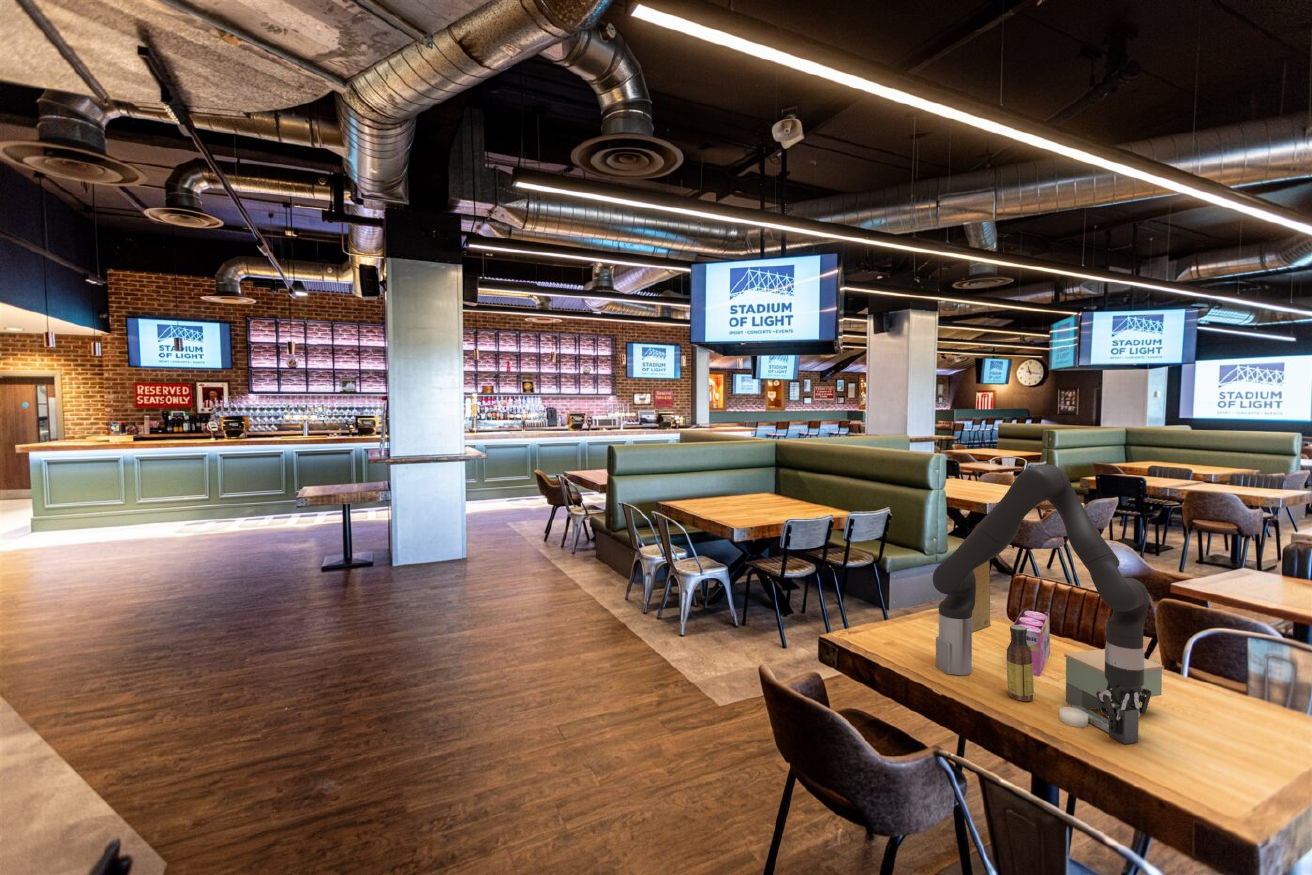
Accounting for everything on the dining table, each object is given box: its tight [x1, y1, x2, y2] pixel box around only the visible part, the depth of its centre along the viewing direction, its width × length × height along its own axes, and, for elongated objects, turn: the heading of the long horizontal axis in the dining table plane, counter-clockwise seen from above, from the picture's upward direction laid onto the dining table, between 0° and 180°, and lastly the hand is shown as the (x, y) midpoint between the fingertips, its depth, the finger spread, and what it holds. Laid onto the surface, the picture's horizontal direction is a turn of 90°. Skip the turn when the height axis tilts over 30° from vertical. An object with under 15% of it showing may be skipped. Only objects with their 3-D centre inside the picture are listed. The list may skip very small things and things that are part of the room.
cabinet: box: [1063, 648, 1165, 710], centre depth 159 cm, size 18×13×13 cm
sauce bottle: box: [1006, 624, 1035, 702], centre depth 166 cm, size 7×6×20 cm
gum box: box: [1013, 608, 1051, 677], centre depth 190 cm, size 24×8×14 cm, turn 140°
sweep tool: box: [1072, 703, 1140, 745], centre depth 149 cm, size 4×15×8 cm, turn 11°
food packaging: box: [972, 560, 991, 633], centre depth 222 cm, size 13×9×25 cm
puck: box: [1059, 706, 1089, 729], centre depth 153 cm, size 6×6×2 cm
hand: (1123, 731), depth 144 cm, fingers closed on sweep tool, 4 cm apart
